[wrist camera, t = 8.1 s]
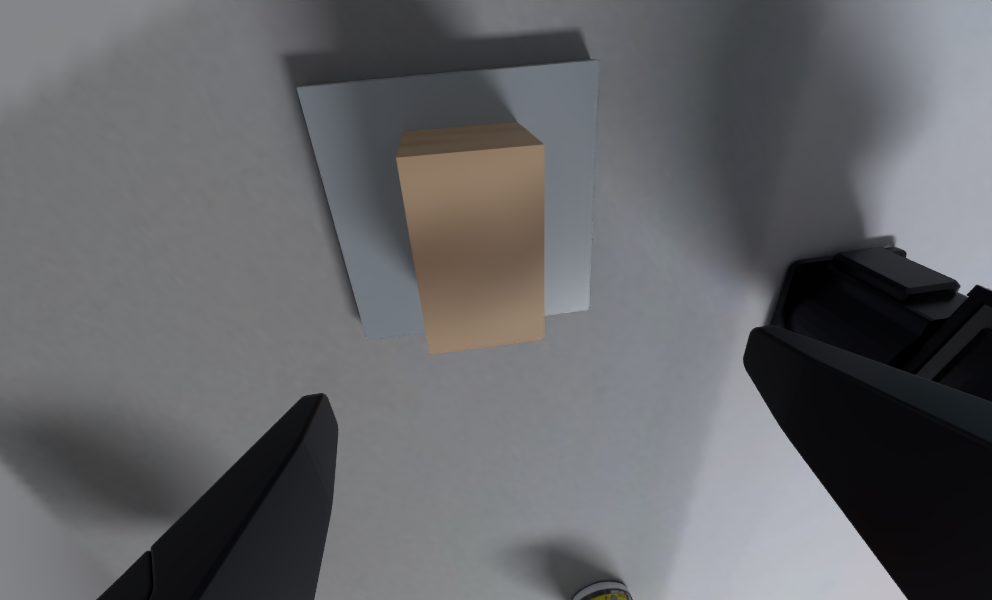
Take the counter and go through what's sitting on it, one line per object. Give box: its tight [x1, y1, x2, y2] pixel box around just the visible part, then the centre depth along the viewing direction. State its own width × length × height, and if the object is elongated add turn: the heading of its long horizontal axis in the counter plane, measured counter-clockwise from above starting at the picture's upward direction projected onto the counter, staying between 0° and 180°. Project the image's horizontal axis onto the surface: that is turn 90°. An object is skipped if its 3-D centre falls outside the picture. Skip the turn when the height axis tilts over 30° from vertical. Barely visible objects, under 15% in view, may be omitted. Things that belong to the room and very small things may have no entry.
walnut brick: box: [396, 122, 544, 354], centre depth 17 cm, size 7×4×4 cm, turn 3°
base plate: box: [297, 59, 600, 341], centre depth 19 cm, size 11×11×1 cm
